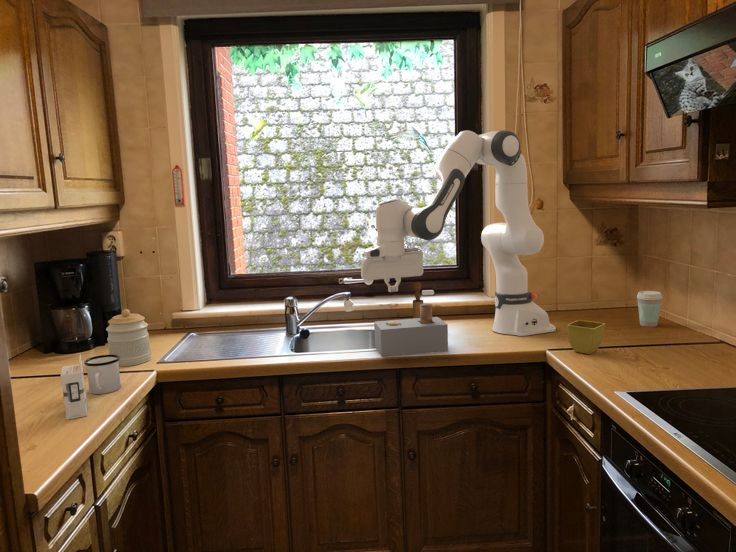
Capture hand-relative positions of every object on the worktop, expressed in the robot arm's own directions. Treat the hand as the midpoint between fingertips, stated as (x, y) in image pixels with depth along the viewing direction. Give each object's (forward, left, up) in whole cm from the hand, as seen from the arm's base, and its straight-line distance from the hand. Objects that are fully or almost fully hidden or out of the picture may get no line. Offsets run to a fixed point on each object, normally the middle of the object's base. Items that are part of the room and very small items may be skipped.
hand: (393, 291), depth 201 cm
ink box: (+90, +33, -20) cm, 98 cm away
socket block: (-5, 0, -20) cm, 21 cm away
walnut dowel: (-11, 0, -14) cm, 18 cm away
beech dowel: (0, 0, -19) cm, 19 cm away
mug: (+88, +16, -20) cm, 91 cm away
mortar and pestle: (-14, -26, -20) cm, 36 cm away
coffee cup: (-95, -6, -20) cm, 98 cm away
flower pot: (-57, +19, -20) cm, 64 cm away
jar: (+87, -14, -20) cm, 90 cm away
